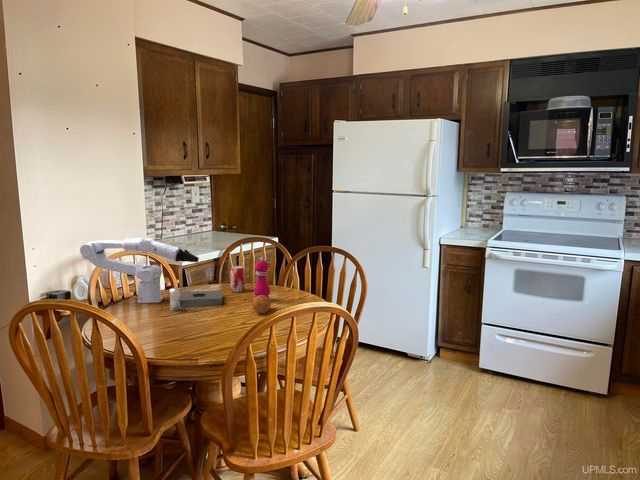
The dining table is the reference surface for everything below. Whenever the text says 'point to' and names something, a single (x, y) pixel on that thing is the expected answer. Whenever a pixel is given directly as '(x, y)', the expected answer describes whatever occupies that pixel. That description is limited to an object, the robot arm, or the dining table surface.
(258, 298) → the potato
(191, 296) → the dock plate
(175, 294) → the steel peg
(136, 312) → the dining table surface
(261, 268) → the pepper mill
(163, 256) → the robot arm
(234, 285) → the soda can
